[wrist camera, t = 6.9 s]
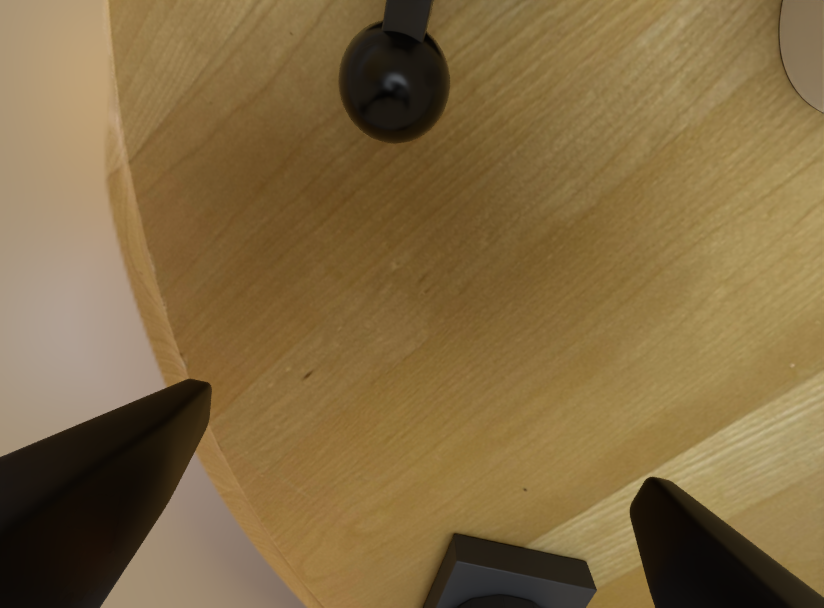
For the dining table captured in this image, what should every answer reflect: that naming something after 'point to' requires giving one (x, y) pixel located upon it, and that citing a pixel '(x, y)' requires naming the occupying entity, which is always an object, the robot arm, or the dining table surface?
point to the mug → (804, 48)
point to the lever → (395, 75)
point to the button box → (508, 578)
